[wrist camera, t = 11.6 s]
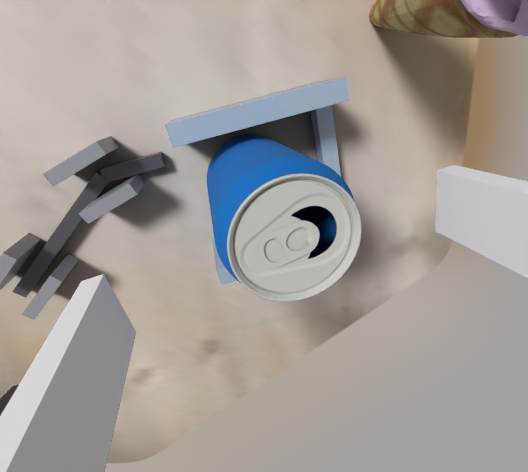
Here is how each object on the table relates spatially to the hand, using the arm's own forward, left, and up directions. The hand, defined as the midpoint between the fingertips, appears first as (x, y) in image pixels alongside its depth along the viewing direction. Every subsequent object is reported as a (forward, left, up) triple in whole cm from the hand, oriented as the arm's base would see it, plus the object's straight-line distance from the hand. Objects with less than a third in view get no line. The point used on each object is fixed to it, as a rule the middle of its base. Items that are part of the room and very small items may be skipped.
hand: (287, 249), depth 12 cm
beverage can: (0, 0, -13) cm, 13 cm away
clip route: (-12, 0, -12) cm, 17 cm away
